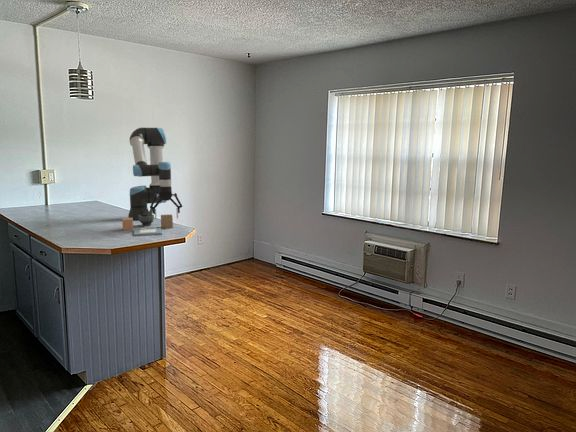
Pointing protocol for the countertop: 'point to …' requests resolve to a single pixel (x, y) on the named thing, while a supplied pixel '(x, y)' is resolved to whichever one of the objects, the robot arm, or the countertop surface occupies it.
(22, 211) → the countertop surface
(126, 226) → the terracotta block
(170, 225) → the walnut block
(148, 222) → the mortar and pestle
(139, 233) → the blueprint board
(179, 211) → the robot arm
